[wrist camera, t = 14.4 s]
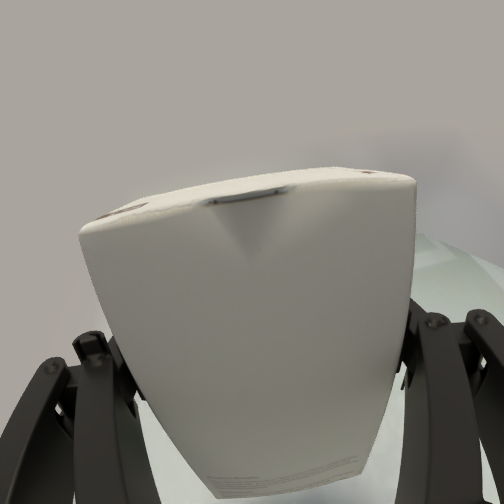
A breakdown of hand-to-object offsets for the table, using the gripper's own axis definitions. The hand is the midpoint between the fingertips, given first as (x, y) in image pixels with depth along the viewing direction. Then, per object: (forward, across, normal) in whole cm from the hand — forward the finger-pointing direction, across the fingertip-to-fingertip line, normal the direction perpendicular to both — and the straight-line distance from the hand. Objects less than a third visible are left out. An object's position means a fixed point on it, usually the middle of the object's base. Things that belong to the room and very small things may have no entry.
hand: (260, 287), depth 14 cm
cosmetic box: (-5, 0, -9) cm, 10 cm away
